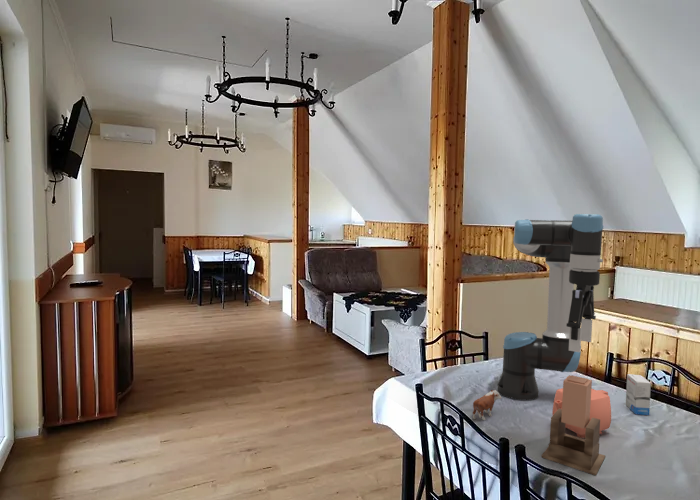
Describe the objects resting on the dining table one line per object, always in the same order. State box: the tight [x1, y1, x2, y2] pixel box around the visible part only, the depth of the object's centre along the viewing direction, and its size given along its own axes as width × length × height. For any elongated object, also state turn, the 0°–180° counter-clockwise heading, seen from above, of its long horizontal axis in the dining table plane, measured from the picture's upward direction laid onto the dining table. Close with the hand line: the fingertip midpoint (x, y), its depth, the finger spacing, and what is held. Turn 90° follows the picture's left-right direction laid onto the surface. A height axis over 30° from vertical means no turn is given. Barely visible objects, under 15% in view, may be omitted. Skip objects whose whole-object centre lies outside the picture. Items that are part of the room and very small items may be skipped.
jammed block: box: [561, 374, 593, 429], centre depth 129 cm, size 6×6×12 cm
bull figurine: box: [472, 389, 502, 421], centre depth 156 cm, size 4×13×8 cm, turn 127°
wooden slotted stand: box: [540, 409, 606, 477], centre depth 130 cm, size 14×12×12 cm
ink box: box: [625, 373, 652, 416], centre depth 163 cm, size 9×5×12 cm, turn 168°
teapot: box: [551, 387, 612, 439], centre depth 147 cm, size 22×13×14 cm, turn 112°
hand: (580, 346), depth 128 cm, fingers open, 12 cm apart
